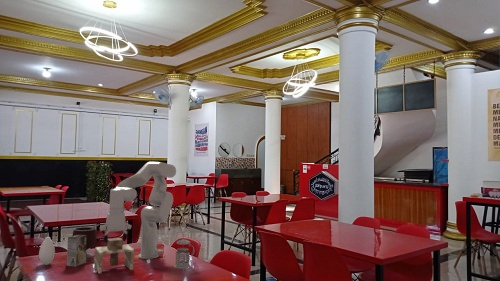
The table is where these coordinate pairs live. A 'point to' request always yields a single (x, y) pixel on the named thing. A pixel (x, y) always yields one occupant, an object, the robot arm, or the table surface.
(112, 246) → the hanger peg
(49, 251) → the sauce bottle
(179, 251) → the french press
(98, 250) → the stand
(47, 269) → the table surface
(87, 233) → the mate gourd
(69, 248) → the coffee box
